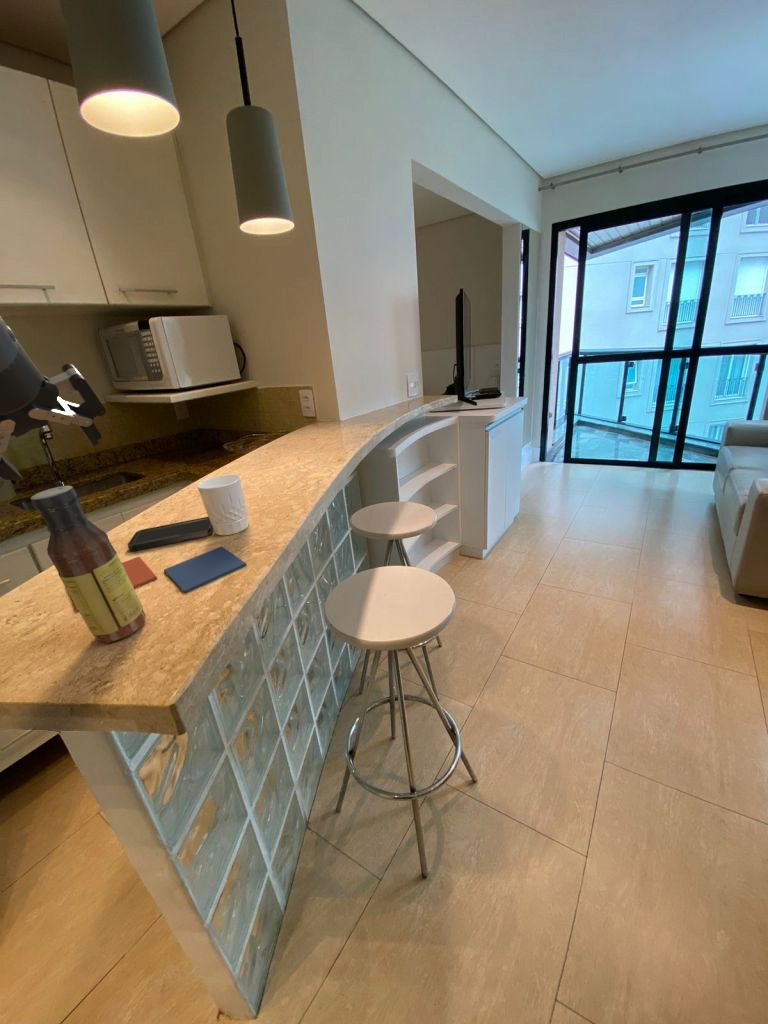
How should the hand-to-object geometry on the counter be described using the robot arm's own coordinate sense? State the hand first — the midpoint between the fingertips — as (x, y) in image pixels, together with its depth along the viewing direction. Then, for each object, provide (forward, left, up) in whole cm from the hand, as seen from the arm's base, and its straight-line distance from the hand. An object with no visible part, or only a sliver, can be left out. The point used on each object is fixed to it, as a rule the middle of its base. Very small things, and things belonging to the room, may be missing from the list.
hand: (56, 457), depth 49 cm
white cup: (+23, +15, -23) cm, 36 cm away
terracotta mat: (+1, +12, -23) cm, 26 cm away
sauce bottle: (-1, -4, -23) cm, 23 cm away
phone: (+14, +22, -23) cm, 35 cm away
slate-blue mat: (+13, +3, -23) cm, 26 cm away
